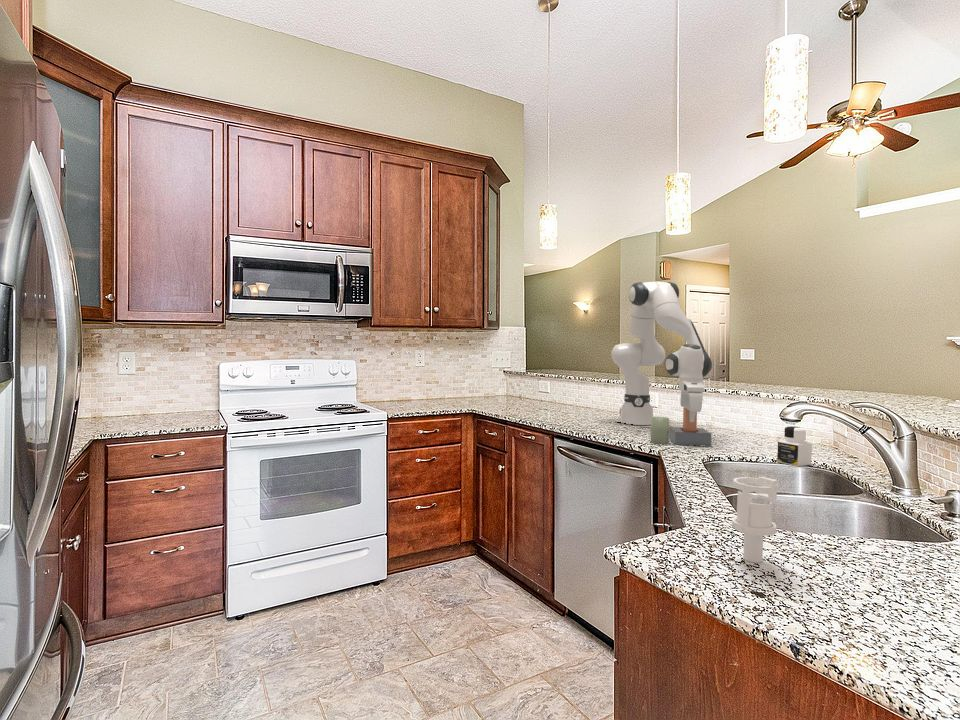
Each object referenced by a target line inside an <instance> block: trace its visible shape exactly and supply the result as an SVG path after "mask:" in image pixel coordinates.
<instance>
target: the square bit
mask: <svg viewBox="0 0 960 720" xmlns="http://www.w3.org/2000/svg"><path fill="white" fill-rule="evenodd" d="M682 408H683V411H682V412H683V413H682V414H683V415H682V417H683V418H682V427H683V431H697V428H698V422H697V421H698V412H696V414H695V419H694V422H690V421H689V414H690V413H689V410H687V409H686V408H684V407H682Z"/></svg>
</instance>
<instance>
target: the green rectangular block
mask: <svg viewBox="0 0 960 720" xmlns="http://www.w3.org/2000/svg"><path fill="white" fill-rule="evenodd" d="M669 427H670V418H669V417H667V416H653V417H651V425H650V444H651V443H654V444H653V445H655V444H662V445H661V446H665V445H664V444H668V445H669V441H670V440H669Z"/></svg>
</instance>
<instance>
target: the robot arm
mask: <svg viewBox="0 0 960 720" xmlns="http://www.w3.org/2000/svg"><path fill="white" fill-rule="evenodd" d="M679 296H680V288H679V287H678V285H677V284H676V283H675V282H672V281H667V282H666V281H659V280H658V281H655V280H654V281H645V282H642V281H639V282H635V283H633V284H632V285H631V286H630V288H629V292H628V298H629V301H630V302H631V303H630V304H632V308H631V315H630V322H629V331H630V333H631V334H632V335H633V336H634V337H636V338H638V339H639V342H636V343H634V342H625V343H619V344H615V345H614V346H613V348H612V350H611V354H610V355H611V356H610V357H611V359H612V361H613V363H614V364H615V365H617V367H618V368H620V369H621V371H622V373H623V376H624V380H625V393H624V397H623V400H624V403H622V405H621V407H620V408H619V409H618V412H619V417H618V419H617V420H616V423H617V422H621V423H620V424H624V423H626V424H625V425H631V424H633V426H651V417H654V407H653V406H652V405H651V404H650V402H651V395H650V379H649V377H648V376H647V375H646V374H644V373H642V372H640V370H639V367H653V366H658V365H662V364H663V363H664V370H665V371H666V372H667V374H669V375H670V376H673V377H678V390H680V404H679V405H680V407H682V408H686V409H687V410H689V413H690V414H689V421H690V422H694V419H695V414H696V412H697V413H700V412H701V410H702V407H703V399H704V397H703V396H704V393H705V391H706V390H705V389H706V388H705V385H704V378H705V377H706V376H708V374H709V373H710V372H711V370H712V367H713V362H712V359H711V357H710V355H709V354H708V352H707V351H706V350H705V349H706V348H705V347H704V344H703V343H702V340H701V337H700V335H699V333H698V331H697V329H696V326H695V325H694V323H693V322H692V320H691V319H689V317H687V315H686V314H685V313H684V311H683V310H682V307H681V304H680V299H679ZM655 322H656V323H657V325H658V326H660V327H661V328H662V329H664V330H667V331H670V332H673V333H675V334H678V335H679V336H681V337H682V338H683V339H684V341H685V342H686V344H682V345H681V346H680V348H679V349H678V350H676V351H674V352H672V353H669V354H668V355H666V351H665V348H664V347H663V345H661V344H660V343H659V342H658V341H657V338H656V336H655V324H656V323H655Z"/></svg>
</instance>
